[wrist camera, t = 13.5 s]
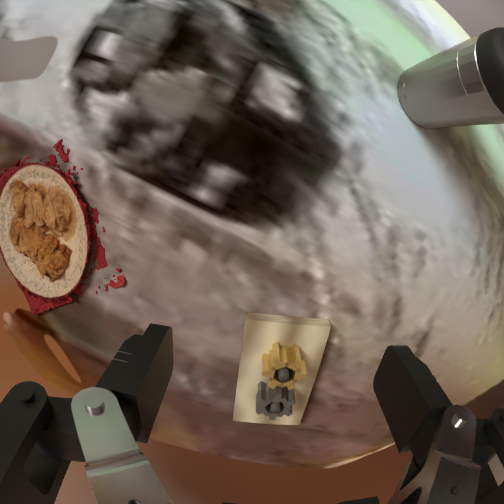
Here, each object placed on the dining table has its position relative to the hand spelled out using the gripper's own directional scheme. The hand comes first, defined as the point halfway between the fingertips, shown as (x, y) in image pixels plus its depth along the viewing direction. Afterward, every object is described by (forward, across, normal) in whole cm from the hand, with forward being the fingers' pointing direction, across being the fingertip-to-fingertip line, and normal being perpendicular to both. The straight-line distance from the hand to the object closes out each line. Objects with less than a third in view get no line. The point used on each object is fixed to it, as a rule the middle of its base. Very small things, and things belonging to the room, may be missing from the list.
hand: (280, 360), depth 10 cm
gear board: (+28, -5, +25) cm, 38 cm away
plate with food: (+29, +35, +5) cm, 46 cm away
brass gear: (+26, -5, +20) cm, 33 cm away
